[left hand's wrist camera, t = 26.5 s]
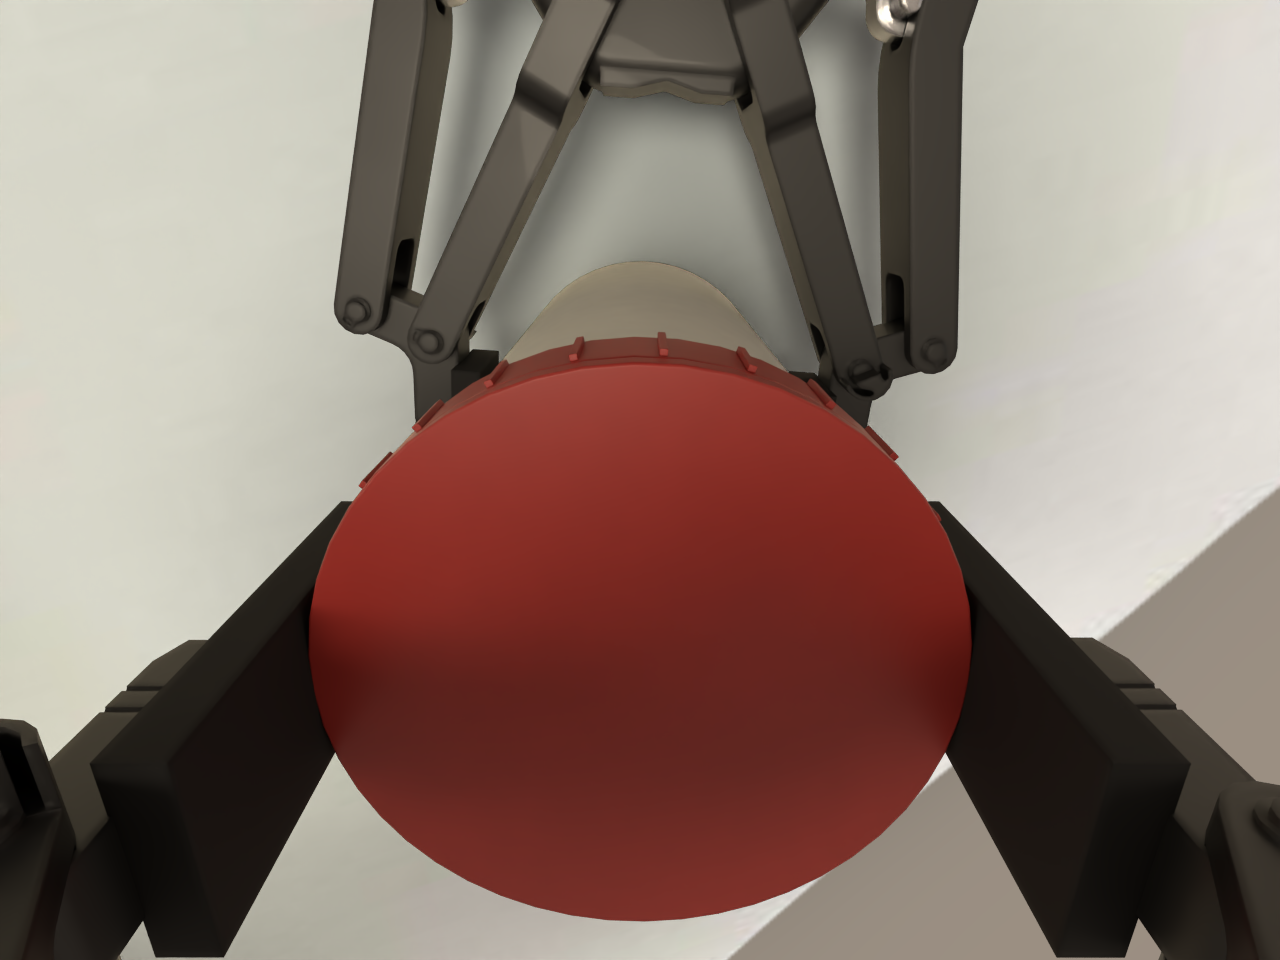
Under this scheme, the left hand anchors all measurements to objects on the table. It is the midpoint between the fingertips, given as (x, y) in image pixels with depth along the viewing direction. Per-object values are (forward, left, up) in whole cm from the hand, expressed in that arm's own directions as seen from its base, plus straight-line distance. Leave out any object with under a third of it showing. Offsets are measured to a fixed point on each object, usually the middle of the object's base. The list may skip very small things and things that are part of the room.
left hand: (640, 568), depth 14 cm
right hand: (-4, -3, -8) cm, 9 cm away
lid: (0, 0, +3) cm, 3 cm away
